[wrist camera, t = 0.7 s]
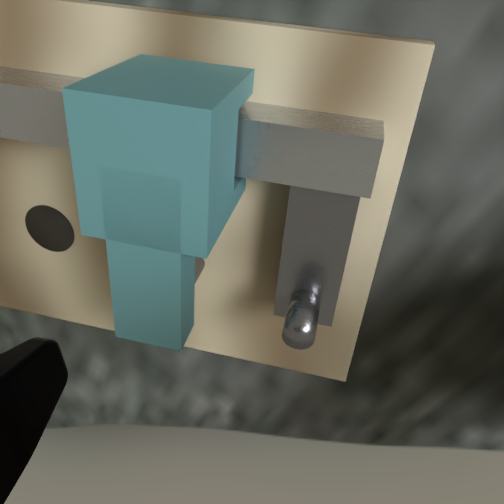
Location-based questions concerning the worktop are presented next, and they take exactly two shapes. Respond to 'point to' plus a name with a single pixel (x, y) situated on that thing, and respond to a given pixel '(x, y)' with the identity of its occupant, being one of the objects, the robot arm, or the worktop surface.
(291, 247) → the fixed leg
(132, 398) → the worktop surface
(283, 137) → the rail
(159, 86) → the sliding leg
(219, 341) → the template board
